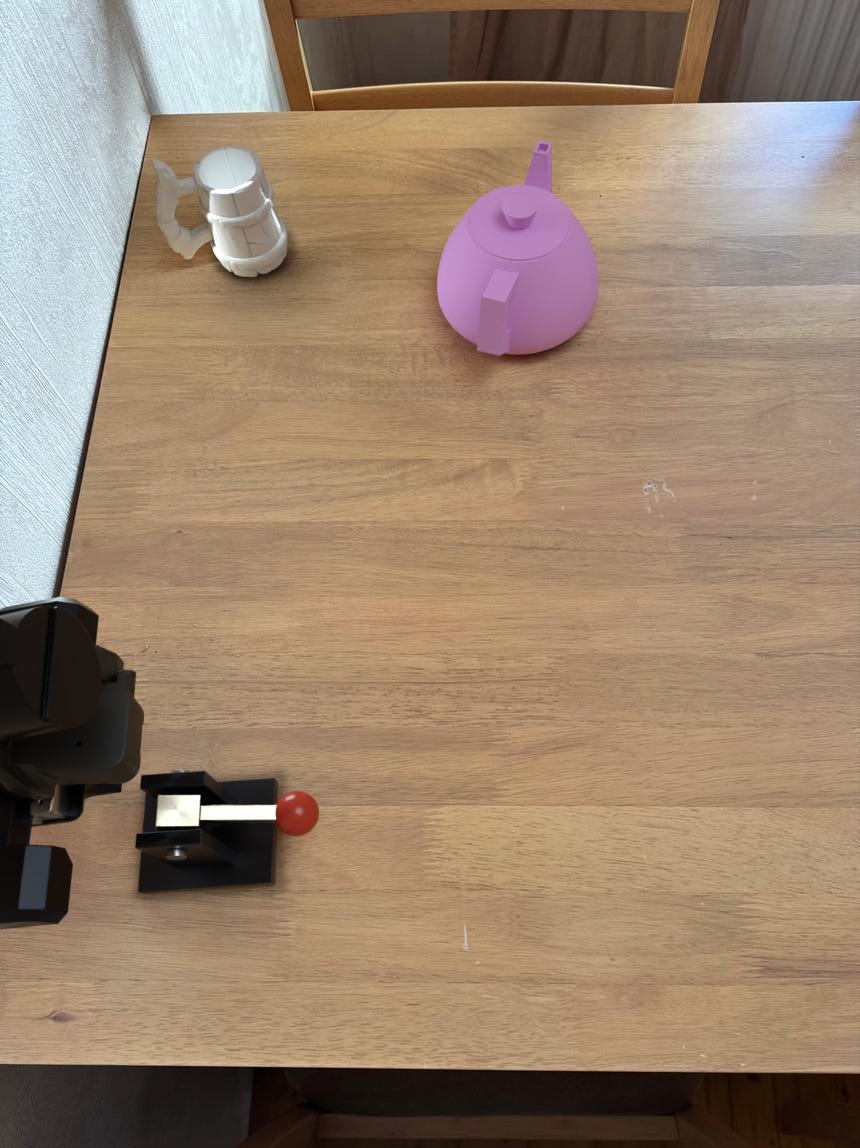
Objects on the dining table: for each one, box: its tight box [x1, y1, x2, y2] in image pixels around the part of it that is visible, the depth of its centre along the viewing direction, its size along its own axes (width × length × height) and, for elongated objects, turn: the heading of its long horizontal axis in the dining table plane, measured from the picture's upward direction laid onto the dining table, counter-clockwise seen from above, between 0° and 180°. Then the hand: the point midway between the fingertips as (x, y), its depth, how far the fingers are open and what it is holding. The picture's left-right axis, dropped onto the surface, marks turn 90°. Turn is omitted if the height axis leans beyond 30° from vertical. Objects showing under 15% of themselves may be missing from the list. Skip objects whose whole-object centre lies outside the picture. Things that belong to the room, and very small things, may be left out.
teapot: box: [436, 139, 600, 357], centre depth 85 cm, size 22×16×12 cm
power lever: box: [156, 790, 320, 837], centre depth 64 cm, size 11×3×3 cm, turn 94°
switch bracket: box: [134, 769, 279, 895], centre depth 66 cm, size 10×8×10 cm
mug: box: [151, 144, 289, 278], centre depth 88 cm, size 8×12×12 cm, turn 107°
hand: (116, 787), depth 60 cm, fingers closed
